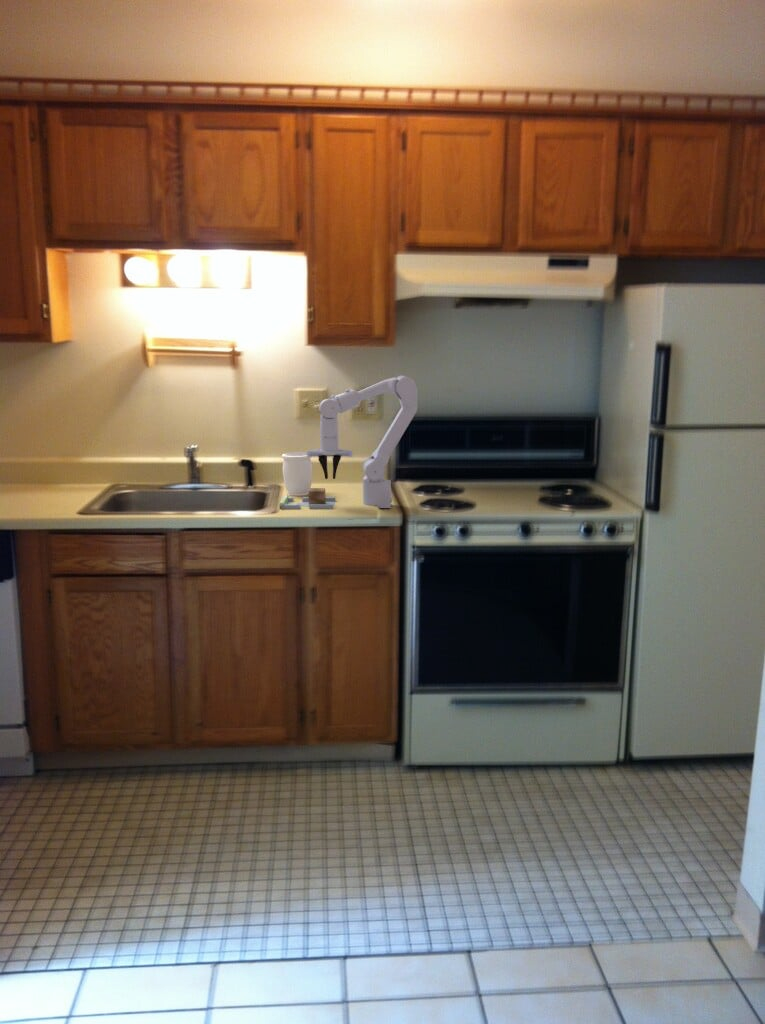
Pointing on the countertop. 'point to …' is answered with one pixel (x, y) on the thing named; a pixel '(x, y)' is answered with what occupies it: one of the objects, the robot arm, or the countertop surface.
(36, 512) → the countertop surface
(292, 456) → the jar
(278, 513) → the countertop surface
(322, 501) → the walnut block
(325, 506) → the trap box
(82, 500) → the countertop surface
